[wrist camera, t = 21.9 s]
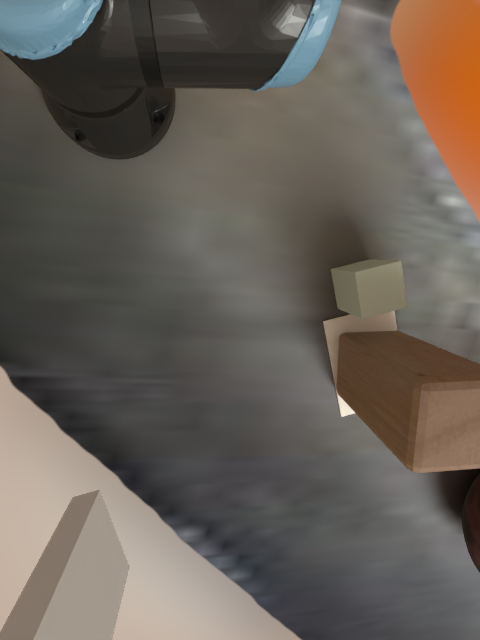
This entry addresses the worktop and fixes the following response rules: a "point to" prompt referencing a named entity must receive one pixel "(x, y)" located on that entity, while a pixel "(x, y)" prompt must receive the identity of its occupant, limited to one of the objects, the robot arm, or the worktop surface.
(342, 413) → the letter
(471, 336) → the worktop surface
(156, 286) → the worktop surface
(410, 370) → the wooden block
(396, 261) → the sage block
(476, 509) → the jug
